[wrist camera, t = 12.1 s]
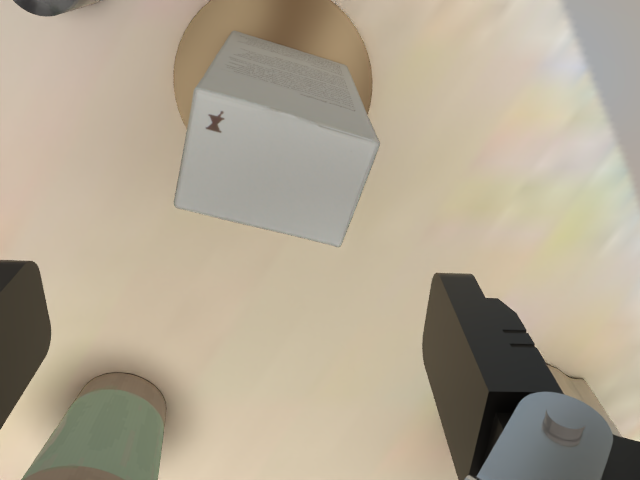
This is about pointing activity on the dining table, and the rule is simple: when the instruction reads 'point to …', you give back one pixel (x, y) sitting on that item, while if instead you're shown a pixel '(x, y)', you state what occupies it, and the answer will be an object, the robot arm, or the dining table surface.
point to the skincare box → (276, 142)
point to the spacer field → (52, 6)
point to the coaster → (270, 39)
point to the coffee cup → (106, 433)
